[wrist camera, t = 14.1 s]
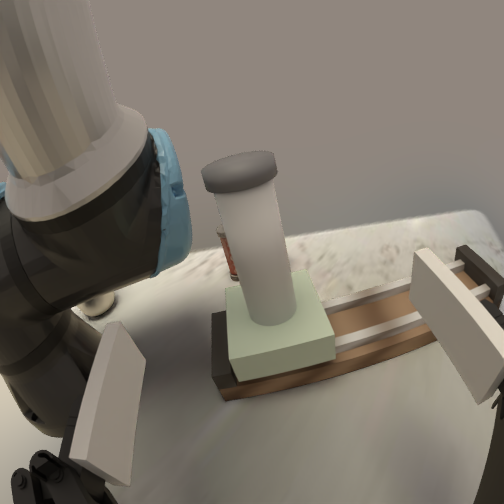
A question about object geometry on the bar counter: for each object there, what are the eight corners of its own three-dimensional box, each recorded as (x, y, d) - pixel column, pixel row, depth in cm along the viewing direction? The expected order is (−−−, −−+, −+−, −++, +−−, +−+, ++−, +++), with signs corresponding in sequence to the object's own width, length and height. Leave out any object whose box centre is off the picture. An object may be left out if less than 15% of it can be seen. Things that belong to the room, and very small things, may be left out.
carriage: (238, 381, 23) (166, 200, 15) (233, 311, 31) (185, 162, 23) (335, 358, 23) (317, 164, 15) (309, 292, 31) (283, 138, 23)
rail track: (225, 401, 25) (211, 376, 23) (222, 340, 32) (211, 313, 30) (497, 310, 25) (507, 282, 23) (461, 271, 32) (465, 244, 30)
